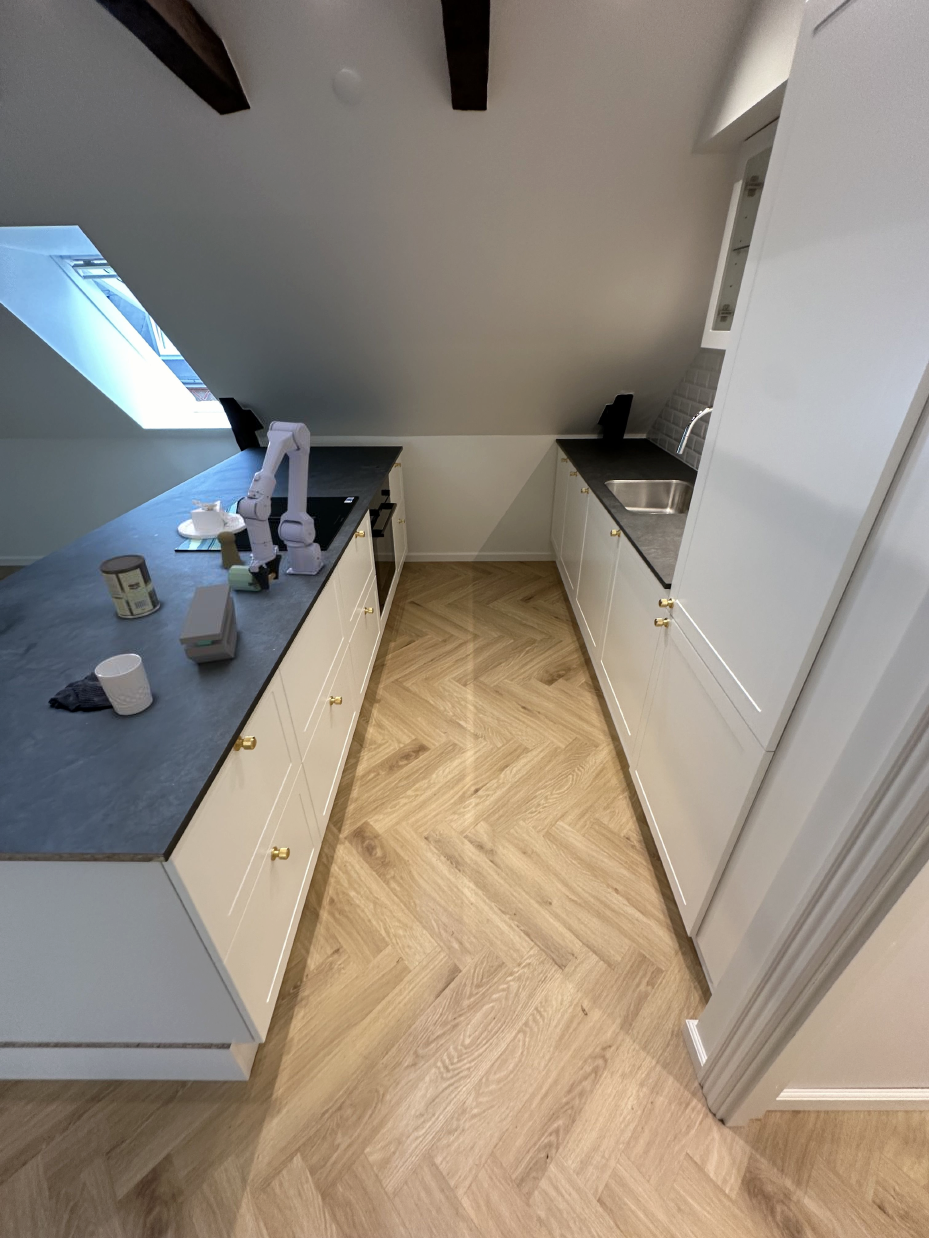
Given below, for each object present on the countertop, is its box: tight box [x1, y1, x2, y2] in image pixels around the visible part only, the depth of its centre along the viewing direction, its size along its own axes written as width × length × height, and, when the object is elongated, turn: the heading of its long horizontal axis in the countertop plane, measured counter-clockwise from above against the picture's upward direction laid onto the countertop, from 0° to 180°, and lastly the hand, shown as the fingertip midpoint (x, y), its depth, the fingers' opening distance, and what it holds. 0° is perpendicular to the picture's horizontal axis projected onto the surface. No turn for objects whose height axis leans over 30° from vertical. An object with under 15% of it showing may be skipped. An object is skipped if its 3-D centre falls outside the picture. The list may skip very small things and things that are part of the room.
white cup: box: [94, 653, 154, 716], centre depth 102 cm, size 8×8×10 cm
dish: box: [177, 499, 247, 540], centre depth 193 cm, size 25×25×11 cm
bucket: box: [227, 565, 276, 592], centre depth 149 cm, size 7×8×11 cm
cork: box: [216, 531, 244, 570], centre depth 163 cm, size 6×6×11 cm
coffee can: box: [98, 554, 161, 619], centre depth 136 cm, size 10×10×14 cm
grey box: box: [178, 582, 238, 664], centre depth 121 cm, size 25×8×11 cm, turn 17°
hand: (270, 584), depth 149 cm, fingers closed on bucket, 6 cm apart
